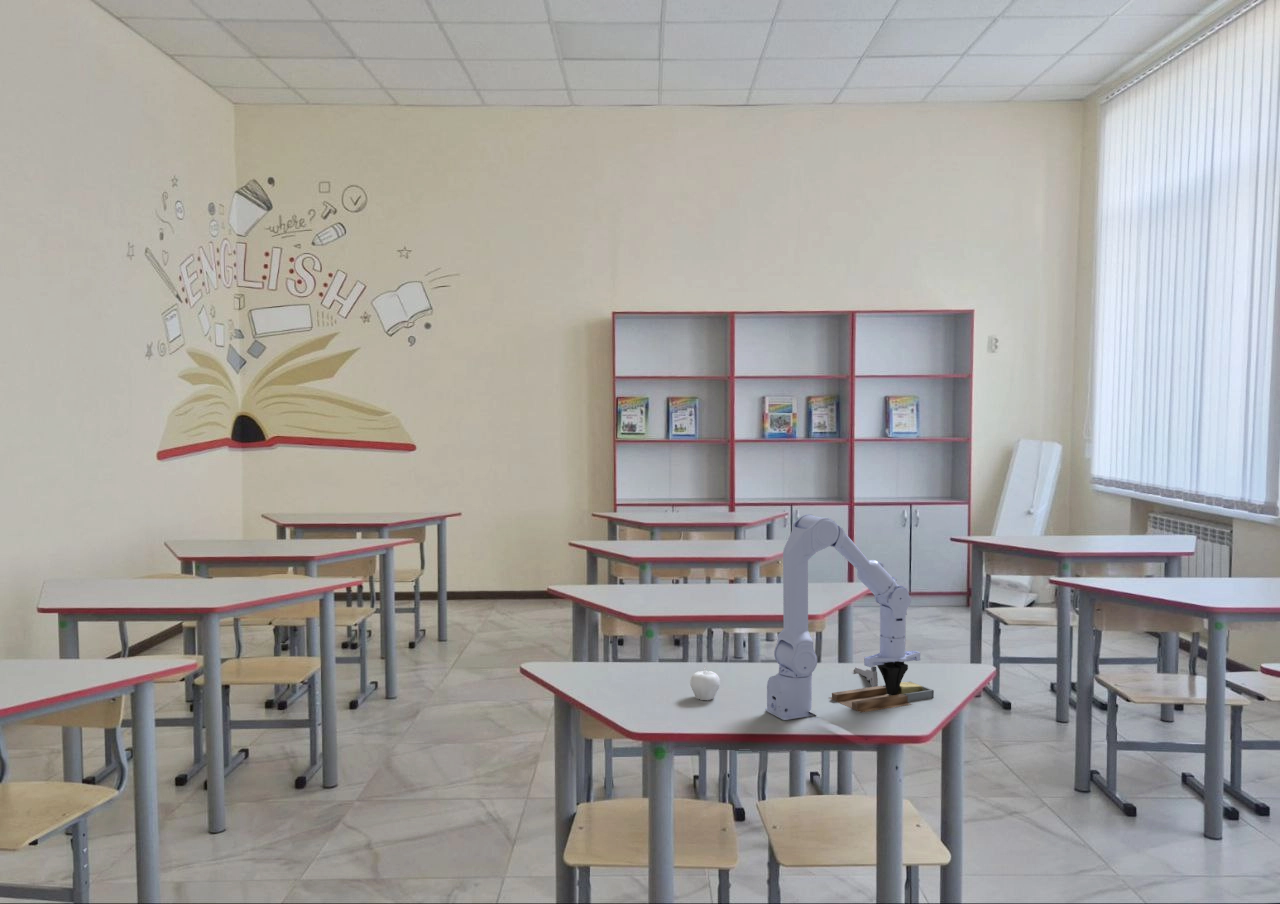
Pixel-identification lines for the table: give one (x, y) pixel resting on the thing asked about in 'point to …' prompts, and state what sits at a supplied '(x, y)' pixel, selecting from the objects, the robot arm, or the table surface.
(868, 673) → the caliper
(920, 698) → the tray
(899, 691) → the block
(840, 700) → the slot board
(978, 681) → the table surface
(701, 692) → the plain white apple
